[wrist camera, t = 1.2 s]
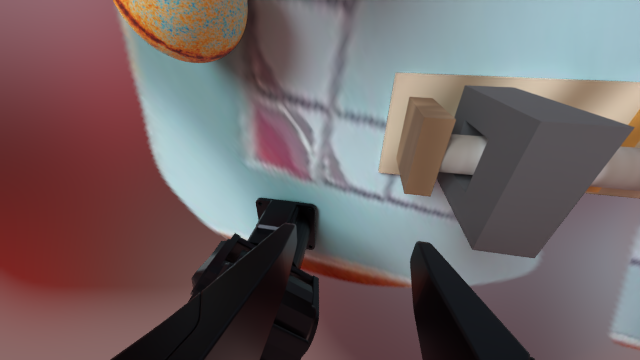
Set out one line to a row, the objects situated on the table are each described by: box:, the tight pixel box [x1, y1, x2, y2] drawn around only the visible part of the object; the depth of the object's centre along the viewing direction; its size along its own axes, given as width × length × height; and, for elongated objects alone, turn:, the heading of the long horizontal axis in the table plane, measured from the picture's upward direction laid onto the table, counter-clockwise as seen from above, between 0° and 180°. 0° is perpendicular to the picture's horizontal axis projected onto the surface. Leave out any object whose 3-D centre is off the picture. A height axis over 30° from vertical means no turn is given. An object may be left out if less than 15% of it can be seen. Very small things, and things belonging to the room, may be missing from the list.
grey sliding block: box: [437, 85, 635, 258], centre depth 14 cm, size 3×7×8 cm, turn 179°
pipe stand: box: [379, 72, 640, 198], centre depth 15 cm, size 22×8×6 cm, turn 89°
